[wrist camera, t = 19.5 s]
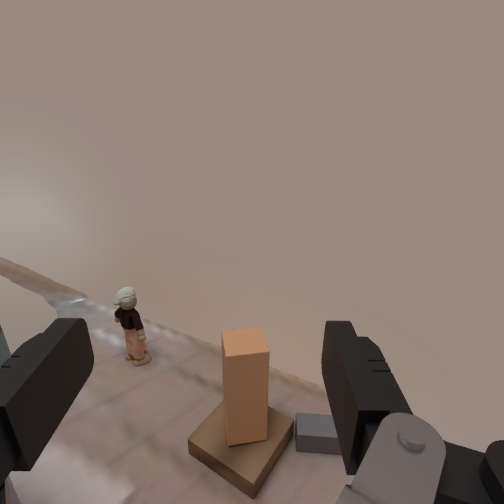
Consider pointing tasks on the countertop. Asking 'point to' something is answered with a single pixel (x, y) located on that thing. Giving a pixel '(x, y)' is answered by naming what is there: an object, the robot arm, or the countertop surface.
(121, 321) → the grandmother figurine
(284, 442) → the walnut block
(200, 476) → the countertop surface
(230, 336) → the light brown brick
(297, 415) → the charcoal brick
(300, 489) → the countertop surface
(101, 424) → the countertop surface
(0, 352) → the bottle
